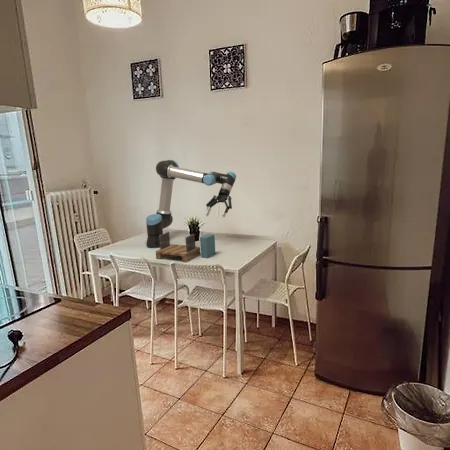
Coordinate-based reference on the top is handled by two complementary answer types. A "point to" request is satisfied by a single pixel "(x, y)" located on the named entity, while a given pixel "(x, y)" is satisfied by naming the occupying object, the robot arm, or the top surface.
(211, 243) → the book
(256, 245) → the top surface
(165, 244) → the shelf
